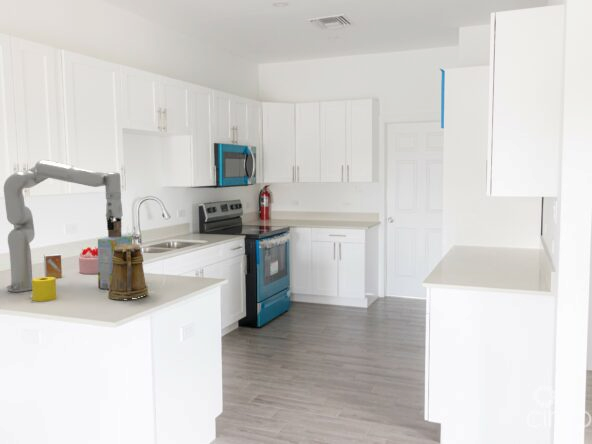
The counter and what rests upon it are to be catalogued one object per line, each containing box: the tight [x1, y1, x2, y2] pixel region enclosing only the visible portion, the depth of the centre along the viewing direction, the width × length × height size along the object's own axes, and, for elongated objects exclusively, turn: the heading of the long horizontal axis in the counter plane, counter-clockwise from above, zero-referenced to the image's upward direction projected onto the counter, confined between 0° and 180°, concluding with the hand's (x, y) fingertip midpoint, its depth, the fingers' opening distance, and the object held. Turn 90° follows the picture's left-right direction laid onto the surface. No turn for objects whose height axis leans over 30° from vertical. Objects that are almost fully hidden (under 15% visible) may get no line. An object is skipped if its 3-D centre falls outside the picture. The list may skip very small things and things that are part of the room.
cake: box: [78, 246, 98, 275], centre depth 317 cm, size 20×20×14 cm
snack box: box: [97, 234, 133, 290], centre depth 278 cm, size 22×9×26 cm, turn 169°
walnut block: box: [107, 220, 122, 237], centre depth 277 cm, size 5×5×8 cm
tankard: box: [108, 243, 149, 301], centre depth 251 cm, size 18×24×25 cm
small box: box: [43, 253, 63, 279], centre depth 299 cm, size 8×6×13 cm
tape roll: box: [32, 276, 57, 302], centre depth 250 cm, size 10×10×9 cm
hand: (114, 228), depth 277 cm, fingers open, 9 cm apart
